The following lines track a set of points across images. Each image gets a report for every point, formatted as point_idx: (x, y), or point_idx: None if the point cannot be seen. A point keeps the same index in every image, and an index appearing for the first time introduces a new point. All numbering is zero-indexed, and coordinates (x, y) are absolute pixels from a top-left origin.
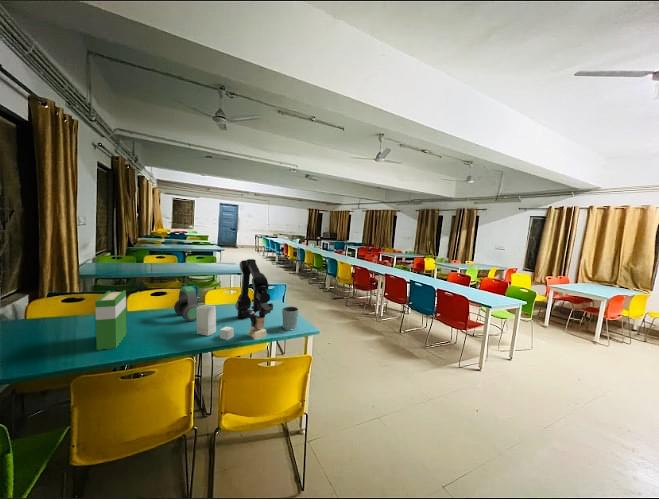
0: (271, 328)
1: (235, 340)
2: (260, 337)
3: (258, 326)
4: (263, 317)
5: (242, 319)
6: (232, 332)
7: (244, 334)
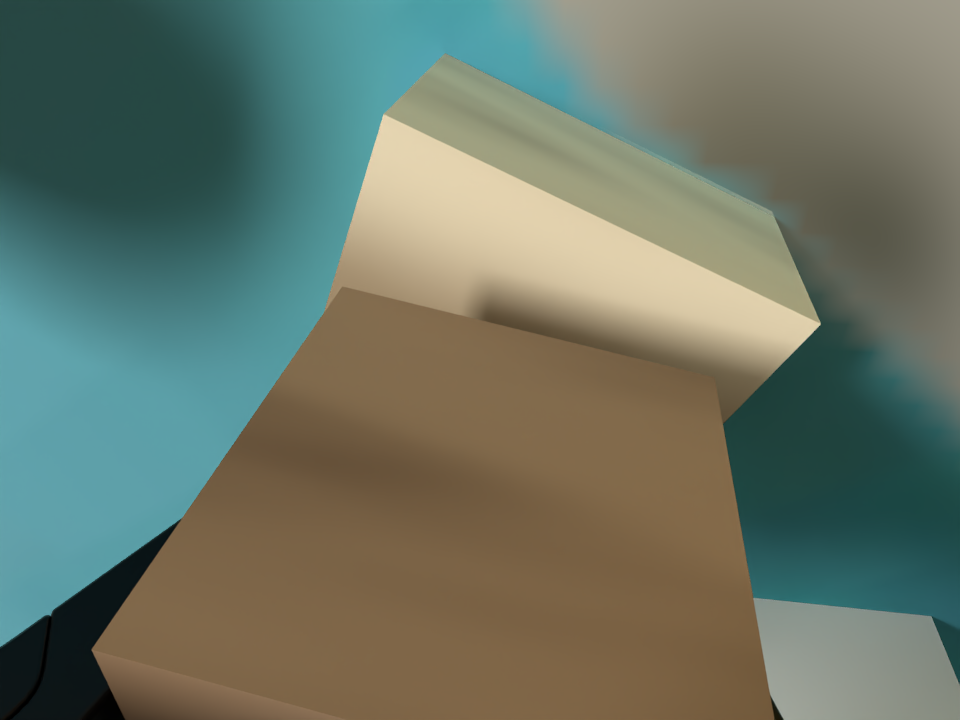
0: (21, 198)
1: (931, 524)
2: (615, 141)
3: (663, 429)
4: (79, 675)
5: None
6: (806, 689)
7: None
